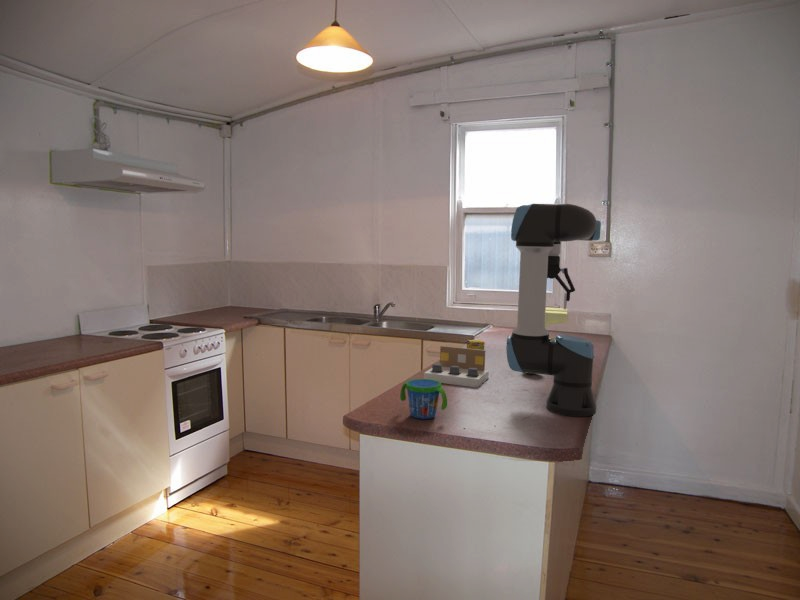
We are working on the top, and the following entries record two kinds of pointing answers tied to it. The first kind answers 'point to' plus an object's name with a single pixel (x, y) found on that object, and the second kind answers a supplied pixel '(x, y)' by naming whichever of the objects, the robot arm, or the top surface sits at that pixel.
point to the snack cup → (423, 397)
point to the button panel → (464, 360)
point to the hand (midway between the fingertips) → (547, 308)
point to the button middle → (454, 370)
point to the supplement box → (475, 344)
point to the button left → (437, 368)
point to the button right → (472, 372)
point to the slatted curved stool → (555, 316)
